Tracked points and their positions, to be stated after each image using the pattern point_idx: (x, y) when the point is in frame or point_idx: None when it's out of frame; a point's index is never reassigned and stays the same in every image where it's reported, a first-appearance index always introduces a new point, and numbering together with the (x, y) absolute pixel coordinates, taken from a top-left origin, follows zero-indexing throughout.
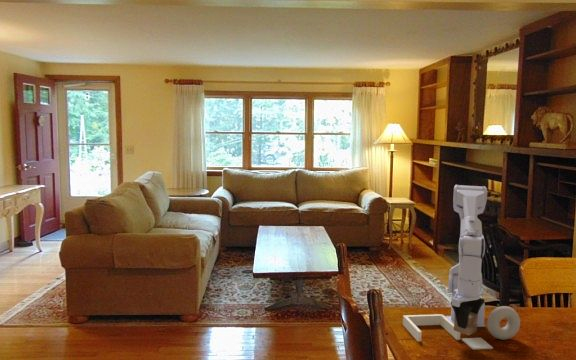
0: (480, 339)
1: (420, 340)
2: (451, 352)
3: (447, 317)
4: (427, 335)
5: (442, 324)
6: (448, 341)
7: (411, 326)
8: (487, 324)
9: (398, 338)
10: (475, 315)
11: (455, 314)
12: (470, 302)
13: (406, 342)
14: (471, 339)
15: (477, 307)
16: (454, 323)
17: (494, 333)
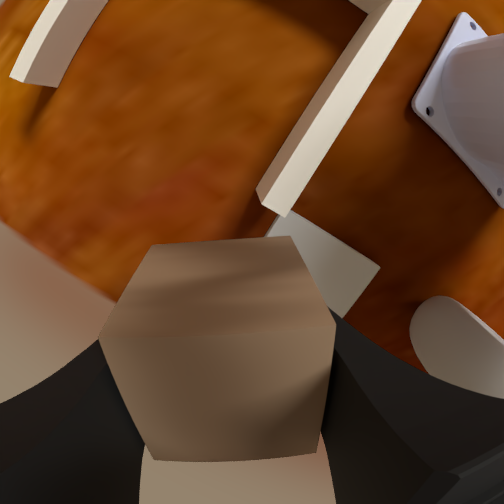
0: (357, 278)
1: (52, 85)
2: (95, 260)
3: (462, 23)
4: (154, 44)
5: (361, 28)
6: (191, 168)
7: None
8: (436, 324)
9: (12, 21)
10: (268, 457)
11: (56, 374)
12: (368, 496)
13: (4, 68)
14: (319, 249)
15: (339, 501)
16: (136, 274)
17: (410, 336)
